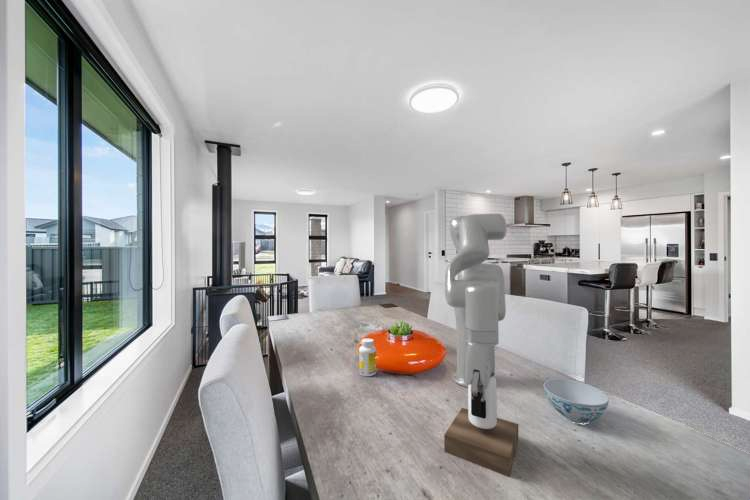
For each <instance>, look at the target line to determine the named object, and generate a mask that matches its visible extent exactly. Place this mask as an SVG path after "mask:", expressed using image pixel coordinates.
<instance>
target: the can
mask: <svg viewBox="0 0 750 500" xmlns="http://www.w3.org/2000/svg"><path fill="white" fill-rule="evenodd" d="M472 381H473V379H472ZM471 386H472V383H471V384H470V385H468V387H467V404H468V405H467V409H468V419H469V421H470V422H471V424H473V425H474V426H476V427H478V428H481V429H492V428H494V427H495V426H496V424H497V418H498V413H497V412H498V411H497V410H498V406H497V403H498V402H497V401H498V397H497V395H498V394H497V379H496V376H495V372H493V375H492V376H491V377H490V381H489V385H488V388H486V389H485V399H484V400H485V401H486V418H485V419H483V418H480V417H477V416H473V415H472V414H471ZM479 386H482V387H483V384H482V383H480V382H479ZM478 390H479V391H478V392H480V393H482V389H478Z"/></svg>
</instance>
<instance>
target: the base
mask: <svg viewBox="0 0 750 500" xmlns="http://www.w3.org/2000/svg"><path fill="white" fill-rule="evenodd" d="M443 439H444V441H443V442H444V445H443V446H444V448H443V449H444V452H445V453H447V454H449V455H451V456H455V457H458V458H460V459H462V460H464V461H467V462H469V463H472V464H475V465H477V466H480V467H483V468H485V469H488V470H490V471H493V472H495V473H498V474H501V475H504V476H506V477H508V478H510V477H511V473H512V468H513V464H514V459H515V456H516V451H517V447H518V444H519V423H516V422H513V421H509V420H506V419H502V418H499V417H497V424H496V426H495V427H494V428H492V429H481V428H478V427H476V426H474V425H473V424H471V422H470V421H469V419H468V408H465V407H461V408H460V410H459V411H458V413H457V414H456V416H455V418H454V419H453V420H452V422H451V424H450V425H449V427H448V429H447V430H446V431H445V433H444V438H443Z"/></svg>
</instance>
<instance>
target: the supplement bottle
mask: <svg viewBox="0 0 750 500" xmlns="http://www.w3.org/2000/svg"><path fill="white" fill-rule="evenodd" d="M358 349H359V350H358V356H359V357H358V360H359V361H358V363H359V364H358V366H359V367H358V369H359V375H361V376H362V377H373V376H375V375H376V374H377V372H378V371H377V368H378V367H376V365H377V362H376V363H375V357H376V358H377V347H376V346H375V345H374V339H373V338H363V339H361V346H360V347H359V348H358Z"/></svg>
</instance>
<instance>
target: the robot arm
mask: <svg viewBox="0 0 750 500" xmlns="http://www.w3.org/2000/svg"><path fill="white" fill-rule="evenodd" d="M449 231H450V237H451V240H452V242H453V245H454V247H455V251H456V255H455V256H454V257H453V258H452V259H451V260H450V262H449V264H448V265H447V268H446V269H445V275H444V298H445V300H446V303H447V304H448V305H449V306H450V307H452V308H454V309H453V311H454V315H455V323H456V324H455V325H456V371H455V372H453V374H452V380H453V382H455V383H456V384H457V385H460V386H461V387H466V388H468V385H470V384H471V383H472V386H471V414H472V415H473V416H477V417H480V418H483V419H485V418H486V401H485V400H484V399H485V389H486V388H488V385H489V381H490V377H491V376H492V375H493V372H494V373H496V371H495V370H496V369H495V367H496V365H495V364H496V363H495V361H496V357H495V356H496V355H495V346H497V345H498V344H499V322H500V321H503V320H504V319H505V317H506V313H507V311H506V310H507V309H506V308H507V307H506V306H507V305H506V291H505V289H506V287H505V285H506V284H505V276H504V274H505V273H504V271H503V269H502V267H501V266H500V265H498V264H496V263H484V262H485V261H487V260H488V258H489V256H490V247H489V241H492V240H493V241H501V240H503V239H504V238H505V237H506V235H507V232H508V225H507V222H506V219H505V217H504V216H503V214H500V213H474V214H473V213H472V214H467V215H459V216H456V217H453V218H452V219H450V221H449ZM456 276H457V279H456ZM472 379H473V381H472ZM479 382H480V383H482V384H483V387H482V386H479ZM478 389H482V393H480V392H478V391H479V390H478Z"/></svg>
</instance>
